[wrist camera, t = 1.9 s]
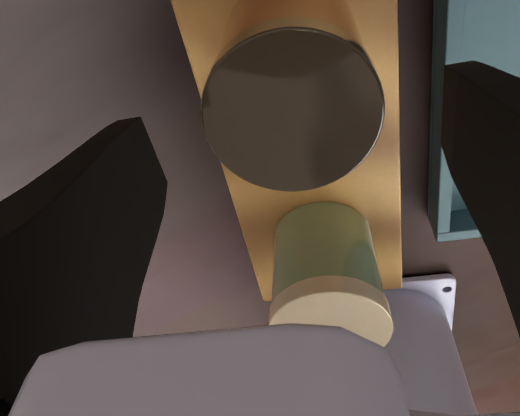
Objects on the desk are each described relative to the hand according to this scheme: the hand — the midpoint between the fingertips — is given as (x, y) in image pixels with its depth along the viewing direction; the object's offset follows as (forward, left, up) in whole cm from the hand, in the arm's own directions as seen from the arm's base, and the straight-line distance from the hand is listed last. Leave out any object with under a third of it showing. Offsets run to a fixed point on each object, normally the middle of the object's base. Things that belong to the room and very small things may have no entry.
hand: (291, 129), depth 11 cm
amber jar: (0, 0, -6) cm, 6 cm away
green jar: (-9, 0, -6) cm, 11 cm away
